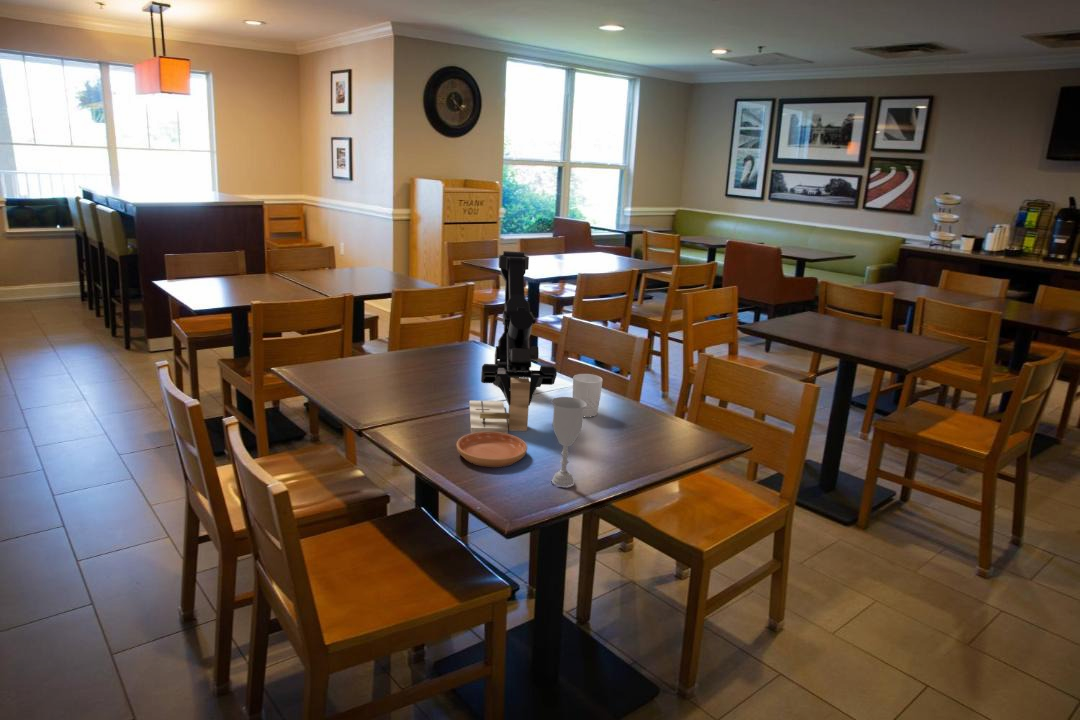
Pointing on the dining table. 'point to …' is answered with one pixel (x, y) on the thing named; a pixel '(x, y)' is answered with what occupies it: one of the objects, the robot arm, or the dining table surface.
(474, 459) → the saucer
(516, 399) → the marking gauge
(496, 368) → the robot arm
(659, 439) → the dining table surface
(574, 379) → the white cup
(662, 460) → the dining table surface
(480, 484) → the dining table surface
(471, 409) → the birch board
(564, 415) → the chalice
